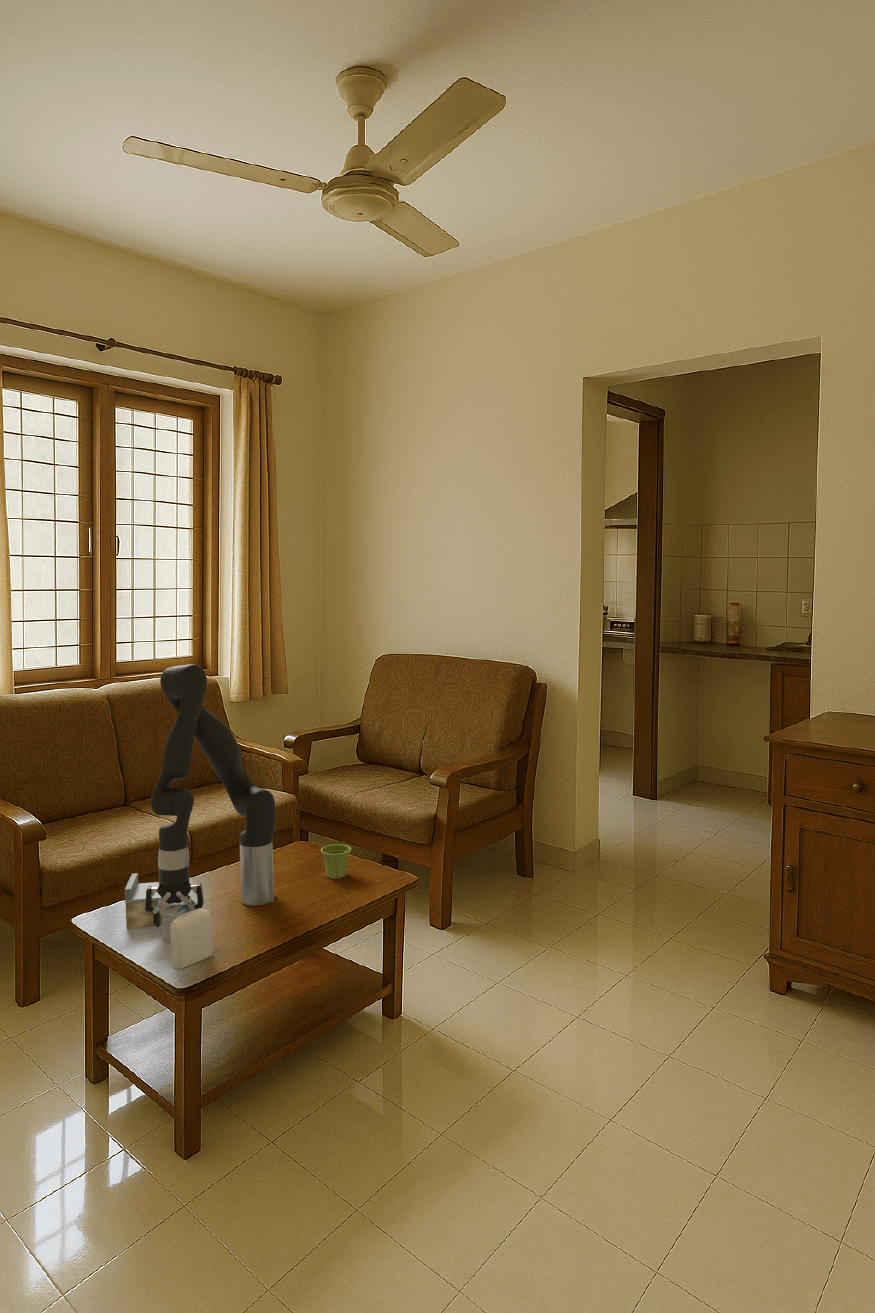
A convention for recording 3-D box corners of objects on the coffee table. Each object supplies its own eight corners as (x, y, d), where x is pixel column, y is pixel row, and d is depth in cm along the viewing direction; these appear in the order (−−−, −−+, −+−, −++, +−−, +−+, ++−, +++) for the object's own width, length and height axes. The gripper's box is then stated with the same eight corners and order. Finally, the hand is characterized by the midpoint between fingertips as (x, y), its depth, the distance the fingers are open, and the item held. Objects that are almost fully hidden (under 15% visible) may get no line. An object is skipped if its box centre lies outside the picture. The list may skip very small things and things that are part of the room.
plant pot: (349, 881, 252) (349, 854, 251) (319, 881, 252) (318, 854, 251) (353, 870, 261) (352, 844, 260) (323, 870, 261) (323, 844, 261)
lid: (184, 883, 231) (184, 869, 231) (180, 899, 219) (179, 885, 219) (132, 886, 228) (132, 873, 228) (125, 903, 217) (124, 889, 216)
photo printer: (178, 971, 194) (176, 921, 193) (168, 966, 197) (166, 916, 195) (215, 956, 202) (214, 908, 201) (205, 951, 204) (204, 903, 203)
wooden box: (185, 908, 231) (184, 884, 231) (181, 924, 221) (180, 899, 220) (133, 912, 229) (132, 888, 228) (126, 929, 218) (125, 903, 217)
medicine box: (178, 944, 208) (176, 911, 208) (162, 943, 209) (160, 910, 209) (193, 931, 216) (192, 899, 215) (177, 930, 217) (176, 898, 216)
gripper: (203, 857, 216) (204, 917, 217) (147, 861, 214) (148, 921, 215) (200, 867, 209) (202, 928, 210) (142, 870, 206) (144, 932, 208)
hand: (175, 924), depth 213 cm, fingers open, 8 cm apart
